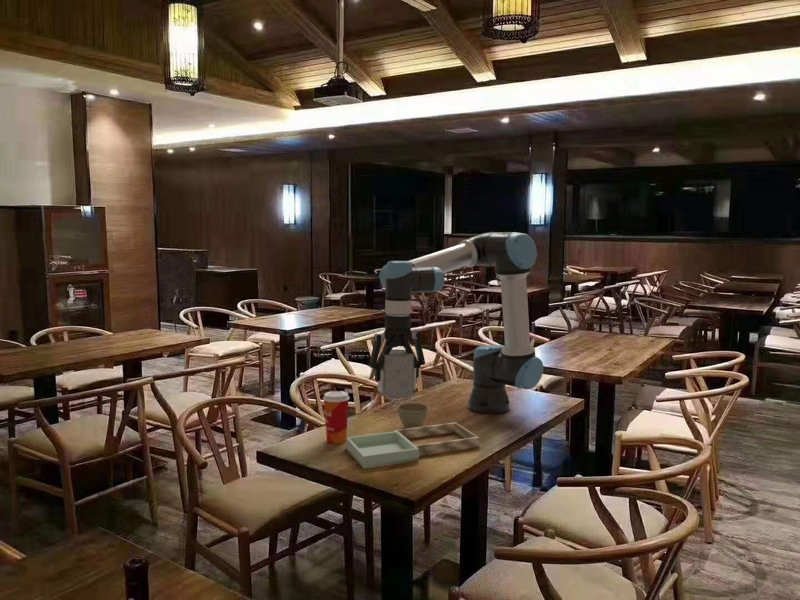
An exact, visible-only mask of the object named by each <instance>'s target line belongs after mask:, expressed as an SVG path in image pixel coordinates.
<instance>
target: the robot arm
mask: <svg viewBox="0 0 800 600" xmlns="http://www.w3.org/2000/svg"><path fill="white" fill-rule="evenodd" d="M537 257H538V249H537V245H536V242H535V241H534V239H533V238H531V236H530V235H529V234H528V233H524V232H523V233H522V232H517V231H513V232H512V231H506V232H505V231H503V232H501V231H500V232H499V231H498V232H497V231H490V232H484V233H481V234H478V235H475V236H472V237H469V238H466V239H463V240H461V241H459V242H458V244H457V245H454V246H450V247H448V248H445V249H441V250H438V251H435V252H432V253H429V254H426V255H422V256H420V257H417V258H414V259H410V260H391V261H390V260H389V261H387V263H386V264H385V265H383V266H382V268H380V271H379V275H378V276H379V281H380V284H381V285H382V286H384V287H385V303H384V304H385V305H384V306H385V307H384V308H385V311H384V312H385V314H386V315H385V316H384V331H383V333H374V334H373V336H374V342H373V347H372V349H371V355H370V358H369V360H368V361H369V362H368V367H369V368H371V369H374V379H375V381H377V391H378V392H379V393H380V394H381V393H383V378H384V370H382V369H381V368H382V366H383V364H384V360H385V355H389V353H390V351H391V350H393V348H398V347H403V348H404V350H406V352H408V353H413V352H414V351H415V353H416V355H415V354H414V362H413V391H416V390H417V379H418V378H419V376H420V368H421V366H425V364H426V360H425V356H424V350H423V348H422V347H423V346H422V342H421V338H422V337H421V335H422V334H421V333H420V332H418V331H414V332H413V331H412V330H411V327H412V316H411V315H410V314H412V294H417V293H418V294H419V293H420V294H421V293H430V294H431V293H435V292H439V291H441V290H442V289H443V287H444V284H445V275H444V274H446V273H448V272H453V271H454V270H458V269H461V268H463V267H466V268H472V267H477V266H487V267H488V266H490V267H491V266H492V267H494V269H495V270H494V271H495V275H496V276H497V277H499V279H500V292H501V304H502V305H501V306H502V322H503V335H504V345H503V344H491V345H490V344H489V345H481V346H477V347H476V348H475V349H474V351H473V359H472V360H473V361H472V362H473V363H472V364H473V367H472V369H473V370H472V371H473V379H472V380H473V382H472V383H473V385H472V389H471V392H470V394H469V398H468V401H467V408H468V409H469V410H471V411H473V412H476V413H481V414H502V413H506V412H508V411H510V409H511V408H510V399H509V396H508V393H507V390H506V386H509V387H513V388H517V389H518V390H521V389H522V390H525V391H527V390H531V389H533V388H536V386H537V385H538V383H540V380H541V379H542V377H543V374H544V373H543V372H544V364H543V361H542V360H541V358H539V357H538V356H536V348H535V347H533V345H531V336H530V334H531V333H530V320H529V319H530V318H529V302H528V287H527V286H528V285H527V276H528V275H529V274H530V273H531V268H532V267H533V266H534V265H535V263H536V260H537ZM411 338H412V340H413V345H414V349H415V350H414V351H413V349H412V347H411V346H412V345H411V344H410V342H409V341H410V340H411ZM384 339H385V340H386V341H385V343H384V347H383V349H382V350H381V346H382V342H383V341H384ZM380 350H381V352H382V353H383V354H385V355H383V354H382V353H381V352H380ZM379 354H380V355H379Z"/></svg>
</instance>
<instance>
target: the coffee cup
mask: <svg viewBox="0 0 800 600" xmlns="http://www.w3.org/2000/svg"><path fill="white" fill-rule="evenodd" d="M322 400H323V407H324V419H325V421H324V422H325V433H326V442H327V443H328V444H332V445H340V444H345V443H346V437H347V435H348V431H347V430H348V418H349V417H348V416H349V415H348V414H349V401H350V396H349V393H348V392H347V391H344V390H340V391H338V390H331V391H327V392H325V393H324V395H323V397H322Z"/></svg>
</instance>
